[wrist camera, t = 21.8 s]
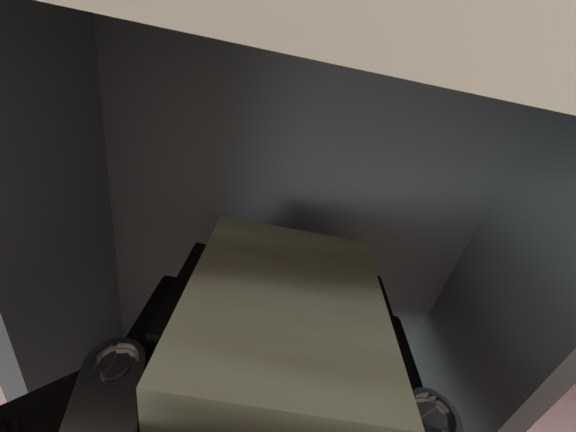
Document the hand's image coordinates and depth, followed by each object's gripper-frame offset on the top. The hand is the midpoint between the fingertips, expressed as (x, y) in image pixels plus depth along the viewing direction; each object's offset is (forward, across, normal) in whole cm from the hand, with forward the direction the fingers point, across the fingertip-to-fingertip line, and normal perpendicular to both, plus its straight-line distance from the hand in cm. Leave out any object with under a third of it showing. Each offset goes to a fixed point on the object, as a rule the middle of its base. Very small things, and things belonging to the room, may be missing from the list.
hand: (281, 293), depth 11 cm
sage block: (+1, 0, 0) cm, 1 cm away
